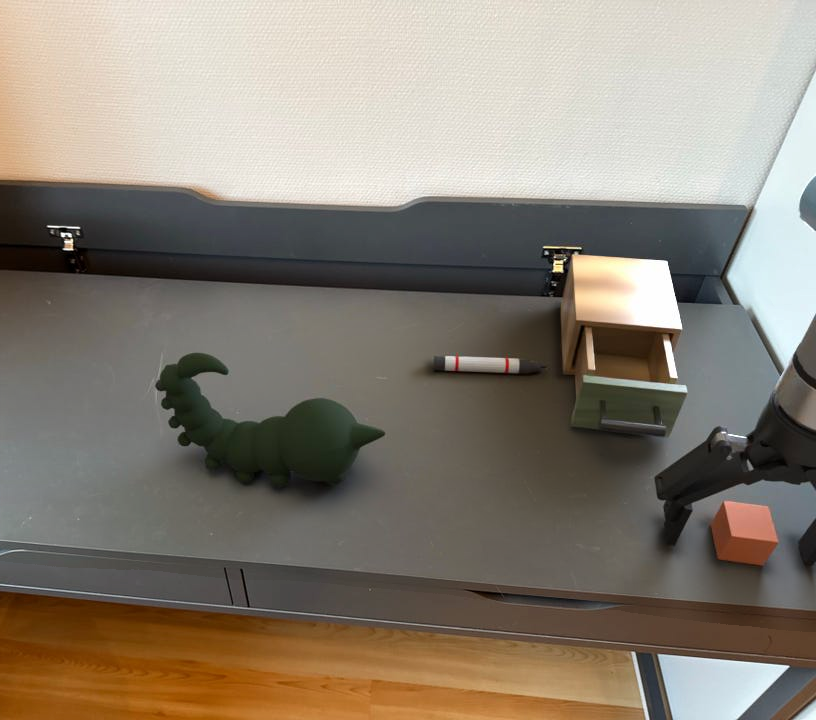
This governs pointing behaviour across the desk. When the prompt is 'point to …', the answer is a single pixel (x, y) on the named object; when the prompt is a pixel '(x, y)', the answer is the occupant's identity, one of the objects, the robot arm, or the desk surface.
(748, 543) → the block
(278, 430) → the toy figurine
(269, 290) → the desk surface
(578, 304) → the cabinet
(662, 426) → the drawer
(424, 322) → the desk surface
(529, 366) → the marker
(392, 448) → the desk surface
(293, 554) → the desk surface
